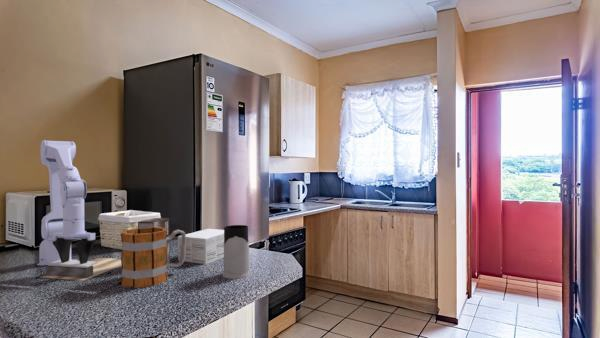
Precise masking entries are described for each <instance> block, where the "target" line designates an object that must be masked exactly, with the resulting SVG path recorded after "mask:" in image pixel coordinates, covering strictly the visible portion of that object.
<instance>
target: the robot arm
mask: <svg viewBox="0 0 600 338" xmlns="http://www.w3.org/2000/svg"><path fill="white" fill-rule="evenodd" d="M39 149H40V162H41V164H42V165H44V166H45V167H47V170H48V176H49V177H48V178H49V199H50V212H48V213H47V214H45V216H43V217H42V219H41V228H40V229H41V231H40V233H41V234H40V235H41V238H42V241H41V243H39V250H38V251H39V263H37V264H36V265H37V266H49V265H48V264H49V263H52V262H55V261H58V260H61V262H62V263H64V262H67V261H69V260H75V259H72V243H73V240H75V242H74V244H75V245H76V248H77V251H78V261H80V264H83V263H86V262H87V261H89V256H90V253H91V251H92V248H93V247H94V245H95V243H96V232H87V230H85V227H86V226H85V199H86V198H87V194H88V188H87V186H88V185H87V182H86V181H85V180H84V179H81V176H80V172H79V170H78V168H77V167H76V166H74V165H73V161H74V159H75V157H76V152H77V146H76V143H75V142H74V140H70V141H67V140H66V141H65V140H64V141H63V140H46V139H43V140H42V141H41V142H40V148H39ZM76 240H77V241H76Z"/></svg>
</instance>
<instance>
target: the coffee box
mask: <svg viewBox="0 0 600 338" xmlns="http://www.w3.org/2000/svg"><path fill="white" fill-rule="evenodd" d="M147 227H161V228H167V234H166V237H168V236H169V235H170V218H169V217H166V218H165V217H161V218H153V219H148V220H144V221H140V222H138V228H147ZM166 244H167V262H166V263H171V258H170V257H171V255H170V254H171V252H170V250H171V248H170V247H171V246H170V245H171V244H170V240H169V241H166Z"/></svg>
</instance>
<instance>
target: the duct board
mask: <svg viewBox="0 0 600 338" xmlns="http://www.w3.org/2000/svg"><path fill="white" fill-rule="evenodd" d="M91 261H94V262H97V264H95V265H92V266H90V267H87V268H76V267H61V266H49V265H46V274H45V275H42V276H40V278H44V279H58V280H70V281H85V280H88V279H90V278H93V277H96V276H99V275H101V274H104V273H106V272H110V271H111V270H114V269H116V268H120V267H122V264H121V258H111V257H109V258H108V257H97V258H95V259H92V260H91Z"/></svg>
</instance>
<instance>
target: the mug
mask: <svg viewBox="0 0 600 338" xmlns="http://www.w3.org/2000/svg"><path fill="white" fill-rule="evenodd" d="M166 234H167V228H161V227H147V228H135V229H130V230H124V231H122V233H121V240H122V250H121V254H120V259H121V264H122V266H121V282H120V286H122V287H126V288H131V289H137V288H139V289H140V288H146V287H154V286H157V285H159V284H161V283H165V282H167V281H168V276H169V275H168V269H167V267H168V268H169V267H171V268H174V267H175V268H178V267H180V266H182V265H183V264H184V262H185V261H184V260H185V253H186V235H185V234H186V232H185V231H184V230H180V229H175V230H173V231H172V232H171V233H169V236H168V237H166ZM177 234H181V235H180V236H182V243H181V258H180V261H178V262H177V263H174V262H170V263H166V262H167V244H166V241H169V242H170V241H171V240H173V238H174V237H176V235H177Z"/></svg>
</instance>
